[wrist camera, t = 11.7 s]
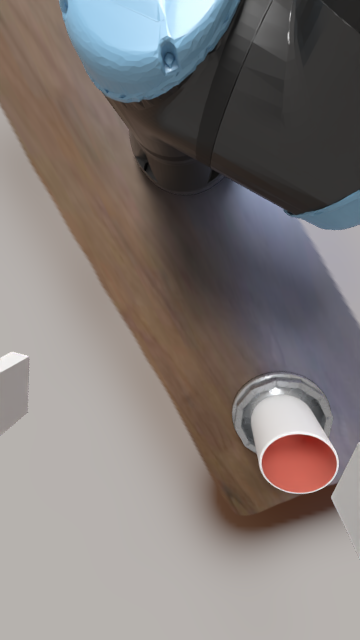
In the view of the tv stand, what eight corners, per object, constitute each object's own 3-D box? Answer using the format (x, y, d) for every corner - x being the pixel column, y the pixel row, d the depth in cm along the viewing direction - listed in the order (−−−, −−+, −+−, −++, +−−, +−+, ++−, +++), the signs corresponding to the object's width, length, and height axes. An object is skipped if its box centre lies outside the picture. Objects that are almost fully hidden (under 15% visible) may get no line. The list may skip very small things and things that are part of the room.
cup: (245, 395, 43) (253, 436, 33) (307, 387, 41) (335, 428, 31) (254, 444, 45) (265, 496, 35) (314, 439, 43) (342, 492, 34)
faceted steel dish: (236, 367, 43) (237, 373, 40) (337, 376, 41) (344, 384, 38) (228, 445, 47) (228, 456, 45) (318, 457, 45) (324, 469, 43)
